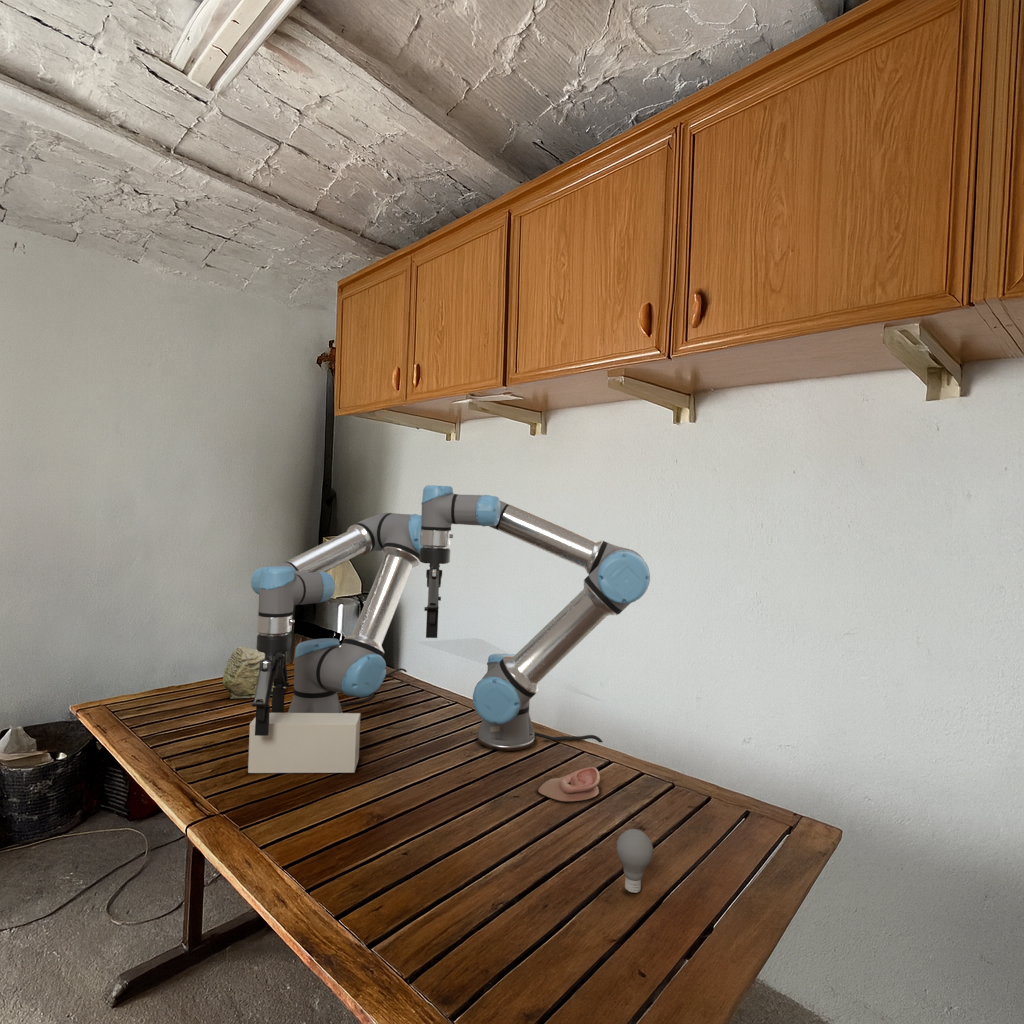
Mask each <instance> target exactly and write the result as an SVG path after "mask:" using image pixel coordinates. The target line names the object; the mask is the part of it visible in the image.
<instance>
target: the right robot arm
mask: <svg viewBox="0 0 1024 1024" xmlns="http://www.w3.org/2000/svg"><path fill="white" fill-rule="evenodd" d="M421 515H422V518H421V535H420V545H422V546H423V547H422V548H421V549H420V563H422V564H429V565H428V567H429V568H428V569H426V570H425V571H426V572H425V578H426V588H428V590H427V605H426V606H424V607H423V608H424V609H423V610H424V612H426V626H425V638H426V639H438V629H439V628H438V627H439V625H438V624H439V601H440V602H441V601H442V596H440V594H439V593H440V592H439V591H440V590H439V589H440V588H441V586H442V578H443V569H440V567H441V565H446V564H447V565H448V564H449V563H450V562H451V548H449V547H450V546H451V539H453V538H454V534H452V525H464V526H465V525H466V526H480V527H490V528H491V529H494V530H496V531H499V532H502V533H504V534H506V535H508V536H511V537H512V538H514V539H517V540H519V541H521V542H524V543H526V544H528V545H530V546H532V547H535V548H537V549H539V550H542V551H545V552H547V553H549V554H551V555H553V556H555V557H558V558H560V559H563V560H565V561H567V562H569V563H571V564H573V565H575V566H577V567H580V568H582V569H584V570H585V572H586V575H587V576H586V577H585V578H584V579H583V588H582V590H581V591H580V592H578V594H576V595H575V597H573V598H572V600H570V601H569V602H568V603H567V604H566V605H565V606H564V607H563V608H562V609H561V610H560V611H559V612H558V613H556V615H555V616H554V617H553V618H552V619H551V620H550V621H549V622H547V624H546V625H544V626H543V627H542V628H541V629H540V631H538V632H537V634H535V635H534V636H533V637H532V638H531V639H530V640H529V641H528V642H527V643H526V644H525V645H524V646H523V647H522V648H521V649H520V650H519V651H518V652H517V653H516V654H515V653H492V654H489V656H488V657H487V662H486V665H487V670H486V673H485V674H484V675H483V676H482V678H481V679H480V680H479V681H478V682H477V683H476V685H475V687H474V690H473V694H472V705H473V708H474V710H475V713H476V714H477V715H478V717H480V718H481V719H482V720H481V722H480V725H479V728H478V731H477V741H478V743H479V744H480V745H481V746H483V747H485V748H487V749H490V750H493V751H499V752H500V751H501V752H519V751H522V750H523V751H524V750H526V749H530V748H531V747H532V746H534V744H535V740H536V737H538V738H542V739H546V740H549V741H558V742H559V741H582V740H584V741H585V740H591V739H592V740H595V741H597V742H598V743H603V740H602V738H600V737H599V736H597V735H595V734H585V735H579V736H578V735H577V736H576V735H568V736H566V735H565V736H563V735H561V736H551V735H547V734H545V733H540V732H537V731H534V727H533V722H532V718H531V714H530V700H531V699H532V698H533V697H534V696H535V695H536V694H537V693H539V682H541V680H543V679H544V678H545V677H546V676H547V675H548V674H549V673H550V672H551V671H552V670H553V669H554V668H555V667H556V666H557V665H559V664H560V663H561V662H562V660H563V659H565V658H566V657H567V656H568V655H569V654H570V653H571V652H572V651H573V650H574V649H575V648H576V647H577V646H578V645H579V644H580V643H581V642H583V641H584V639H585V638H587V637H588V636H589V635H590V634H591V633H592V632H593V631H594V630H595V629H596V628H597V627H598V626H599V625H600V624H601V623H602V622H603V621H605V619H607V617H609V616H620V614H621V613H622V612H624V611H625V610H626V608H628V607H629V606H630V605H631V604H633V603H634V602H636V601H639V600H640V599H641V598H642V597H643V596H644V595H645V594H646V592H647V590H648V588H649V586H650V582H651V572H650V568H649V566H648V563H647V562H646V561H645V559H644V558H643V557H642V556H641V554H639V553H638V552H637V551H635V550H634V549H630V548H626V547H623V546H619V545H615V544H612V543H610V542H607V541H605V540H599V541H595V540H593V539H590V538H588V537H586V536H583V535H581V534H579V533H576V532H574V531H572V530H569V529H567V528H565V527H562V526H560V525H558V524H556V523H553V522H552V521H549V520H546V519H545V518H541V517H539V516H537V515H534V514H532V513H530V512H528V511H525V510H523V509H521V508H519V507H516V506H514V505H511V504H509V503H507V502H504V501H503V500H500V498H499V497H498V496H495V495H489V494H457V493H454V489H453V487H452V486H451V485H450V486H449V485H435V484H433V485H432V484H431V485H430V484H428V485H425V486H424V487H423V489H422V498H421ZM570 736H571V737H570Z"/></svg>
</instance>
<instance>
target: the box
mask: <svg viewBox="0 0 1024 1024" xmlns="http://www.w3.org/2000/svg"><path fill="white" fill-rule="evenodd" d="M255 722H256V716H255V717H254V718H253V720H251V722H250V723H249V732H248V733H249V737H248V759H247V760H248V761H247V773H248V774H314V773H315V774H333V773H334V774H339V773H340V774H341V773H342V774H355V773H356V769H357V766H358V764H359V761H360V760H359V759H360V739H361V738H360V735H361V712H343V713H288V712H284V713H271V712H270V713H269V732H268V736H255Z"/></svg>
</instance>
